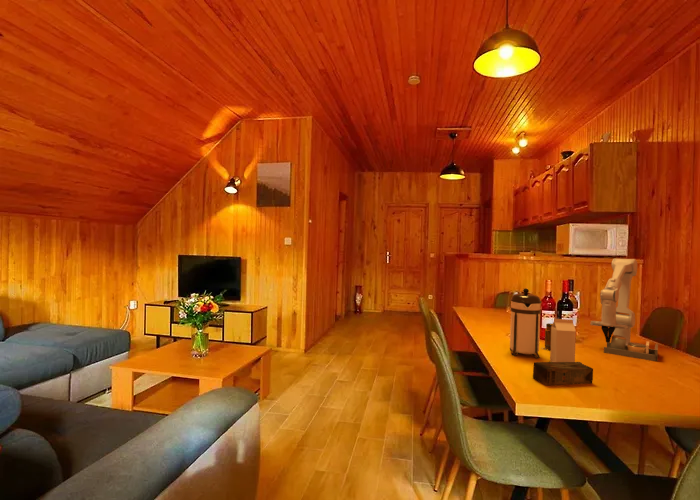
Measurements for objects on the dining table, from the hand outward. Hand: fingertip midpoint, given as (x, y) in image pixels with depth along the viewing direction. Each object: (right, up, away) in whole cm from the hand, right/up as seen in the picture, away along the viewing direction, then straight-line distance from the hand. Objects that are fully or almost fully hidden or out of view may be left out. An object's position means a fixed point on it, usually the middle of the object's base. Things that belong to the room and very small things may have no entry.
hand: (607, 342), depth 181 cm
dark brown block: (-47, -4, -44) cm, 65 cm away
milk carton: (-36, -4, -25) cm, 44 cm away
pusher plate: (+11, -4, -10) cm, 15 cm away
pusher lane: (+7, -4, -6) cm, 10 cm away
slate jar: (+3, -4, -2) cm, 5 cm away
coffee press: (-45, -3, -9) cm, 46 cm away
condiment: (-27, -4, -1) cm, 27 cm away
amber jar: (+9, -4, -7) cm, 12 cm away
